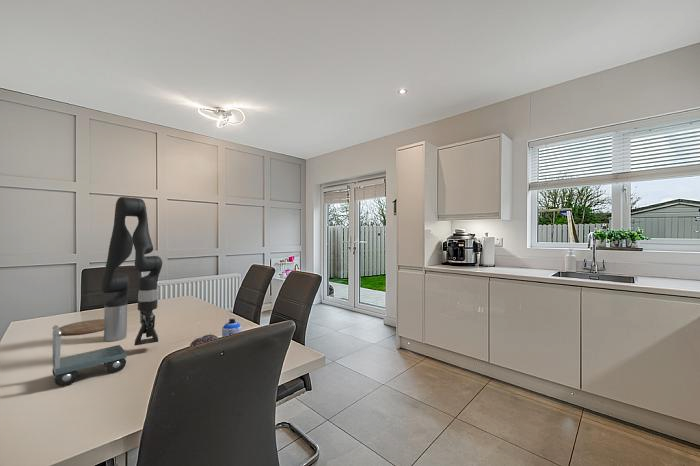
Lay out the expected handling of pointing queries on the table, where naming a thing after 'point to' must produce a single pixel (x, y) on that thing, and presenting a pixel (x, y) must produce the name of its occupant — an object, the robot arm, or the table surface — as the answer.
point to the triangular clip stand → (144, 341)
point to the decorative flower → (203, 339)
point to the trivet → (82, 327)
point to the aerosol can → (231, 328)
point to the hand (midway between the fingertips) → (146, 334)
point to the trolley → (83, 360)
